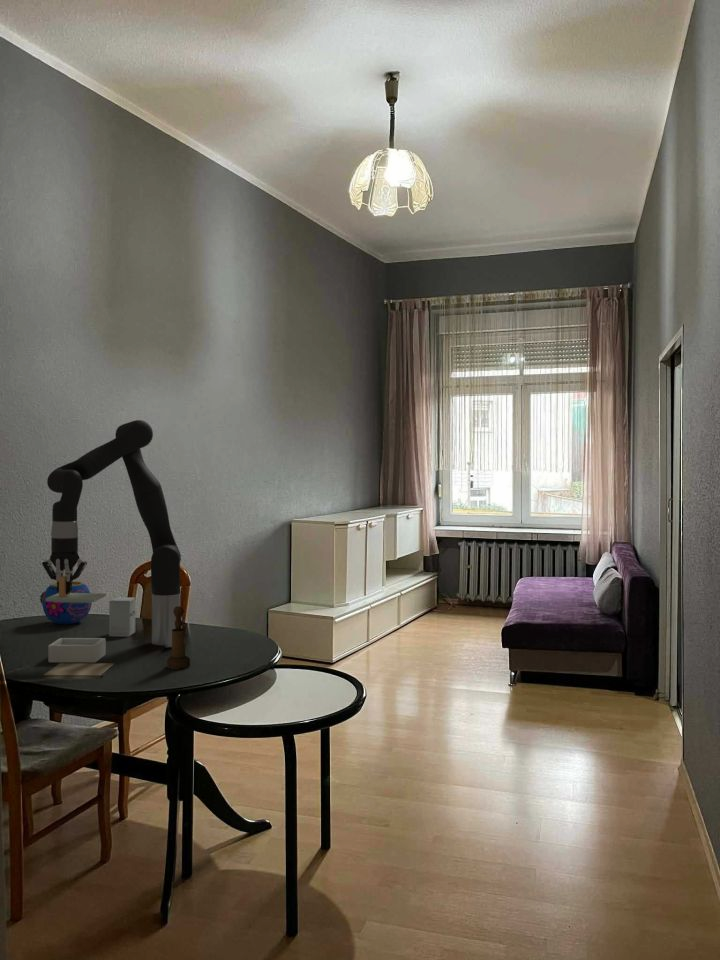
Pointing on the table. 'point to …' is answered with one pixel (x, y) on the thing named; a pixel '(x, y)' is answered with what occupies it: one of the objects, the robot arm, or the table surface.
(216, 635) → the table surface
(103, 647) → the tub
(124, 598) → the supplement box
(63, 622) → the ceramic pot
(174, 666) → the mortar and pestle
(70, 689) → the table surface
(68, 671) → the board
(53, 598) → the lid
